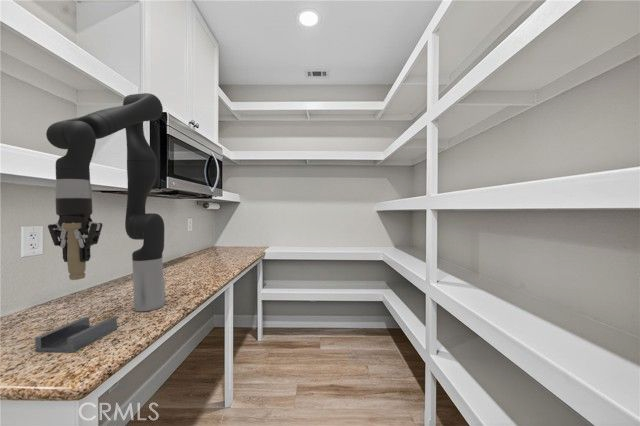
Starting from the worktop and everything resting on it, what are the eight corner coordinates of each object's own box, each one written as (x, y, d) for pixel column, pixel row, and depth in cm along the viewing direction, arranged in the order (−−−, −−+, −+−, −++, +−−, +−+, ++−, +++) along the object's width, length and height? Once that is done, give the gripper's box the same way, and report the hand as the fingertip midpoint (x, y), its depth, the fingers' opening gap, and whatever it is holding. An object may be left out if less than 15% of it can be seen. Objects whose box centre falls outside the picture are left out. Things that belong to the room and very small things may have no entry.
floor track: (84, 329, 87) (84, 317, 87) (116, 329, 87) (116, 317, 87) (35, 352, 74) (35, 337, 73) (73, 352, 73) (72, 338, 73)
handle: (91, 275, 84) (88, 222, 84) (86, 280, 78) (83, 222, 78) (69, 277, 82) (66, 222, 81) (62, 282, 76) (59, 223, 76)
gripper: (110, 197, 83) (112, 258, 83) (62, 198, 84) (65, 259, 84) (87, 195, 75) (89, 263, 76) (35, 197, 76) (38, 264, 77)
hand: (76, 261), depth 80 cm, fingers closed on handle, 4 cm apart
